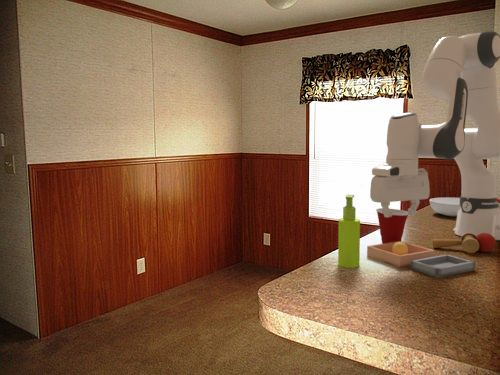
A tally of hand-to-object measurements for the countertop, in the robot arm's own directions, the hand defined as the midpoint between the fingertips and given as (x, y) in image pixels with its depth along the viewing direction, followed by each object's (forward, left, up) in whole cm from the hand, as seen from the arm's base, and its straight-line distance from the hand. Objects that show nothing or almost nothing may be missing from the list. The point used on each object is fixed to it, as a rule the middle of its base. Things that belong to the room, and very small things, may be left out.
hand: (400, 215), depth 127 cm
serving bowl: (-76, -42, -13) cm, 88 cm away
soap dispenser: (+17, -3, -13) cm, 21 cm away
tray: (-2, +13, -13) cm, 19 cm away
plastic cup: (-10, -14, -13) cm, 22 cm away
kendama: (-25, +2, -13) cm, 29 cm away
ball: (0, 0, -10) cm, 10 cm away
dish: (0, 0, -13) cm, 13 cm away
